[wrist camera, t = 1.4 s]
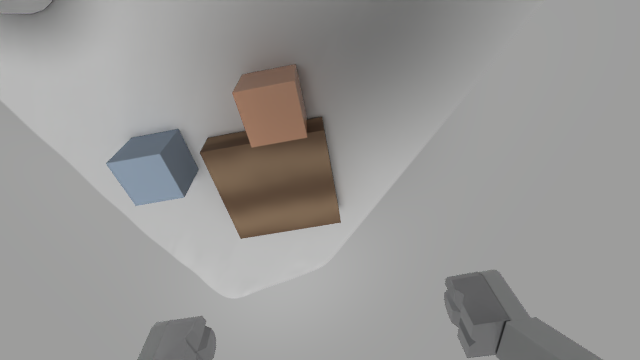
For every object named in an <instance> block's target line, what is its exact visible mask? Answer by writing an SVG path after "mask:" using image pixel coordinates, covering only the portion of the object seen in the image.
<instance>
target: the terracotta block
mask: <svg viewBox="0 0 640 360" xmlns="http://www.w3.org/2000/svg"><path fill="white" fill-rule="evenodd" d="M232 94H233V96H234V99H235V102H236V105H237V108H238V111H239V113H240V116H241V119H242V122H243V125H244V128H245V130H246V133H247V136H248V139H249V142H250V145H251V147H258V146H263V145H269V144H274V143H280V142H286V141H291V140H297V139H302V138H307V115H306V110H305V105H304V101H303V96H302V91H301V87H300V82H299V77H298V72H297V68H296V64H293V65H288V66H283V67H278V68H273V69H268V70H262V71H257V72H252V73H247V74H242V76H241V78H240V80H239V81H238V83H237V85H236V87H235V89H234V90H233V92H232Z"/></svg>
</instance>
